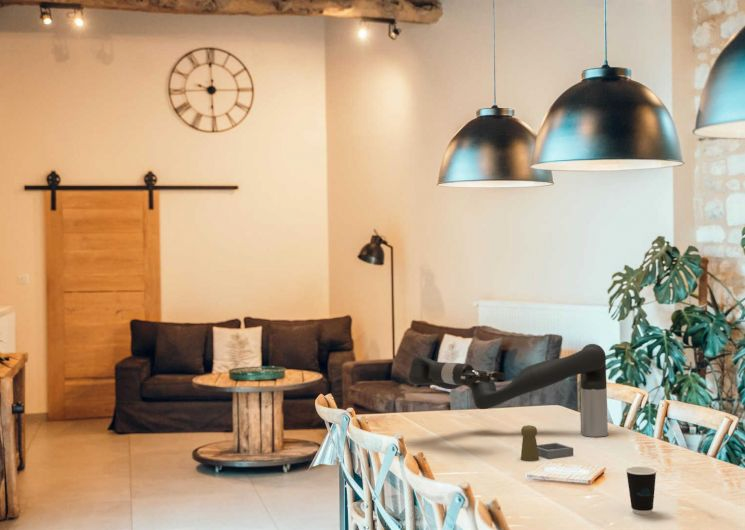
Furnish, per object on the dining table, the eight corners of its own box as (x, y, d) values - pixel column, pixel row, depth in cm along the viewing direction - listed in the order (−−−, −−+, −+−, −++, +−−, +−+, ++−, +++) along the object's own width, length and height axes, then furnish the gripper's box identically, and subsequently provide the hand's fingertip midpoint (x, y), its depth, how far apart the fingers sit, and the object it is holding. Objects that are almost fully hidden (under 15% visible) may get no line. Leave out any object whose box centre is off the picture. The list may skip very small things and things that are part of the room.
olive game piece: (517, 459, 315) (516, 426, 314) (527, 456, 319) (526, 423, 319) (532, 462, 310) (531, 428, 310) (542, 458, 315) (541, 425, 315)
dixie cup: (644, 517, 243) (643, 474, 243) (620, 511, 250) (618, 469, 249) (664, 512, 248) (663, 470, 248) (639, 506, 254) (638, 465, 254)
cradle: (531, 453, 323) (531, 445, 323) (556, 450, 327) (556, 442, 327) (547, 459, 314) (547, 451, 314) (573, 455, 318) (573, 447, 318)
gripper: (469, 382, 338) (508, 386, 328) (445, 386, 327) (485, 391, 317) (469, 361, 338) (508, 364, 328) (445, 364, 327) (485, 368, 317)
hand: (497, 377), depth 322 cm, fingers open, 8 cm apart
